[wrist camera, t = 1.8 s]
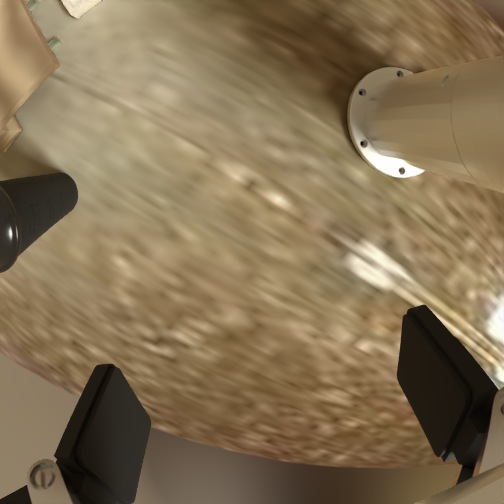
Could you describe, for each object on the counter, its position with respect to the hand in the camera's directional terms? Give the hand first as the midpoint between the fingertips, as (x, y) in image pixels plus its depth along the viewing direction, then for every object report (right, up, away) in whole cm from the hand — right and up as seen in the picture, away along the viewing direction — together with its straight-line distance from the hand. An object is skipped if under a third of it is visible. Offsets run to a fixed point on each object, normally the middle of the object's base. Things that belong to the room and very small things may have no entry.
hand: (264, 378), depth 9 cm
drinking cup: (-22, +11, +21) cm, 33 cm away
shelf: (-30, +28, +14) cm, 43 cm away
